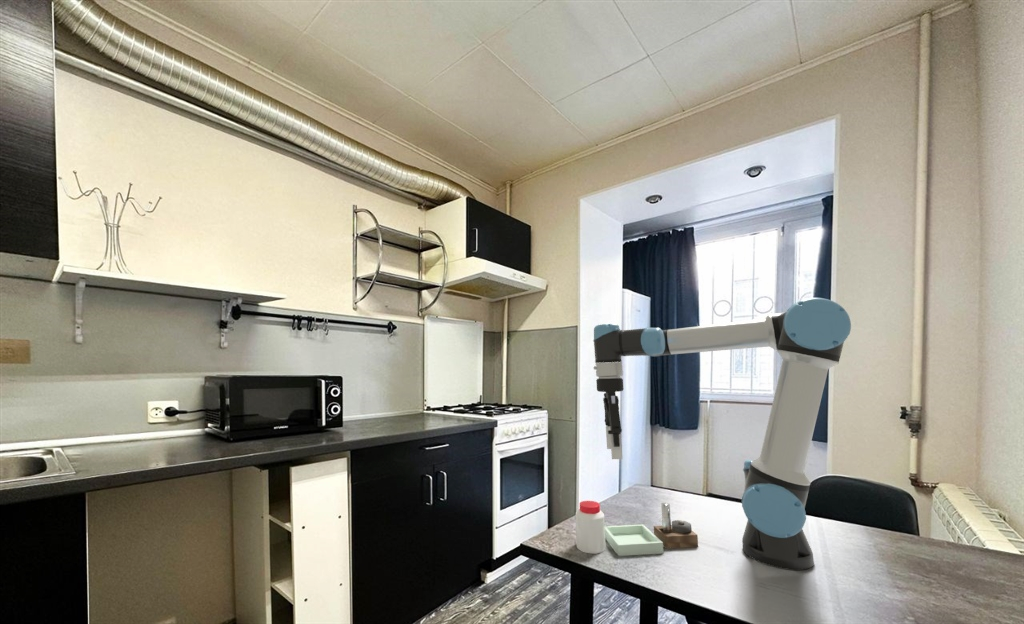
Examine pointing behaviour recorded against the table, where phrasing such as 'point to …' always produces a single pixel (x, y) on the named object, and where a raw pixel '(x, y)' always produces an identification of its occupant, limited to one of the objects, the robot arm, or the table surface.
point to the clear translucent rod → (666, 518)
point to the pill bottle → (590, 528)
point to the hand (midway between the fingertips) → (614, 453)
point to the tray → (633, 540)
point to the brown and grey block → (677, 535)
